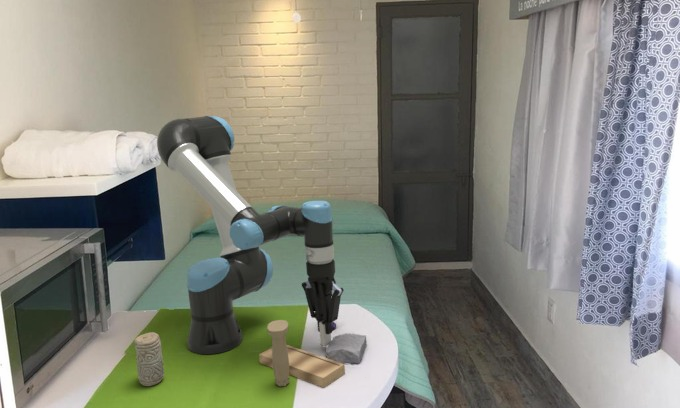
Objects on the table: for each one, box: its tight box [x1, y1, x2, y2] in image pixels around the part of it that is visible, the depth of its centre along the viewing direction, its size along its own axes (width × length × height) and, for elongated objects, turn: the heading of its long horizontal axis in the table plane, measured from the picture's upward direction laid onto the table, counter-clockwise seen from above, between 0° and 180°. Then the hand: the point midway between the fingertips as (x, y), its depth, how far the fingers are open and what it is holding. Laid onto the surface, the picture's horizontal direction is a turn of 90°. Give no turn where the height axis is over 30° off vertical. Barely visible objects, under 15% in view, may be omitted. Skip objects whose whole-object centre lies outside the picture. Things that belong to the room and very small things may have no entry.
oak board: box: [258, 344, 346, 388], centre depth 142 cm, size 22×8×3 cm, turn 51°
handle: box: [266, 319, 290, 387], centre depth 133 cm, size 5×6×15 cm
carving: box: [134, 331, 165, 387], centre depth 138 cm, size 6×8×12 cm
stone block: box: [325, 332, 368, 365], centre depth 148 cm, size 12×5×10 cm
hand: (325, 343), depth 151 cm, fingers closed
